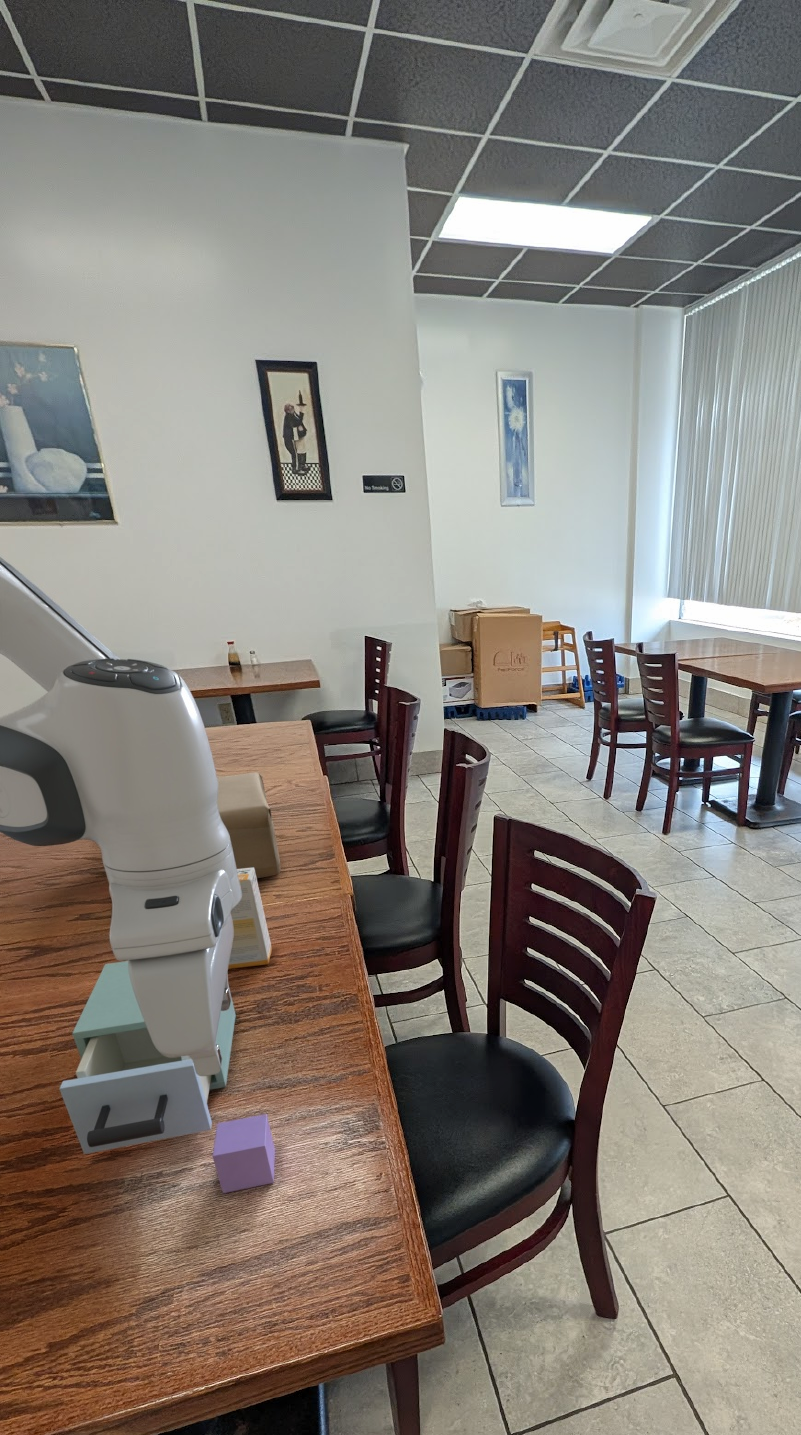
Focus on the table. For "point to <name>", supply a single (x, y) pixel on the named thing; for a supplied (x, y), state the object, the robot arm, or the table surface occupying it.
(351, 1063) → the table surface
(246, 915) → the supplement box
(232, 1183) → the purple cube
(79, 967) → the table surface
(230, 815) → the paper package
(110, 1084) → the drawer
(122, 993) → the mint green drawer box
